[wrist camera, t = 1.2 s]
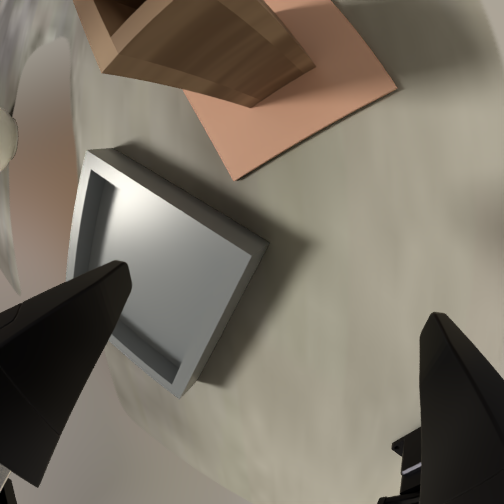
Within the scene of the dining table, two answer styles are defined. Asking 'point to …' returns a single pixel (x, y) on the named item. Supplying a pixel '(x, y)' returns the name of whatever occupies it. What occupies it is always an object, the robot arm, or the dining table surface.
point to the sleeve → (196, 45)
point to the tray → (161, 264)
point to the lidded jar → (7, 138)
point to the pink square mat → (297, 90)
